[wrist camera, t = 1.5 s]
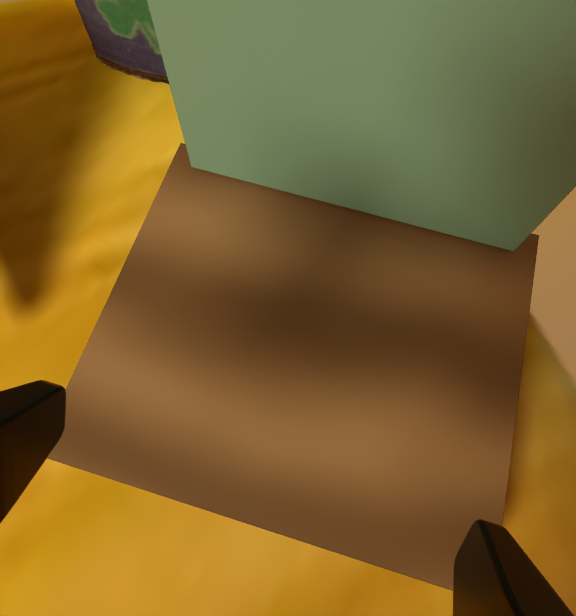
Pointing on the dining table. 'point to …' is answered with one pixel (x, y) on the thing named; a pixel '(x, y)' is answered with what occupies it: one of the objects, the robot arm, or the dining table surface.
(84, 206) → the dining table surface
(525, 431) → the dining table surface
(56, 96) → the dining table surface
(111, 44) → the flask
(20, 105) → the dining table surface
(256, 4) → the tailgate
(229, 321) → the brown flat block
